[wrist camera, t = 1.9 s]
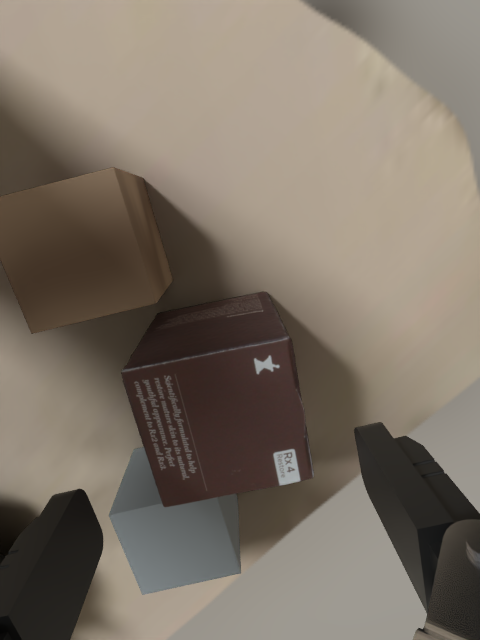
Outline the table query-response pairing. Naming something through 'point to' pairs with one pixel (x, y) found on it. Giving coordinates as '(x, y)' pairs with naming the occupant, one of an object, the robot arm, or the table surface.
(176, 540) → the grey block
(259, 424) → the box
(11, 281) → the walnut block
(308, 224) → the table surface
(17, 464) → the table surface
